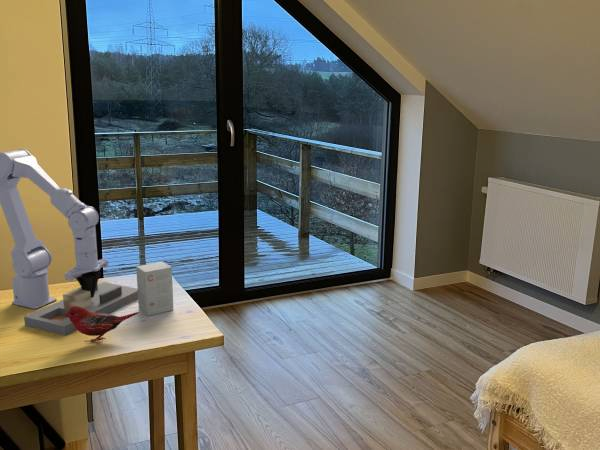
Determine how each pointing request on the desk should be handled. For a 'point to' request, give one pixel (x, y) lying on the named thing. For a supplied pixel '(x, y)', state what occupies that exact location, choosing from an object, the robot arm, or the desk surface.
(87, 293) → the maple block
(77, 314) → the decorative bird figurine
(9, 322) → the desk surface
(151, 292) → the small box
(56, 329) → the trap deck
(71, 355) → the desk surface
